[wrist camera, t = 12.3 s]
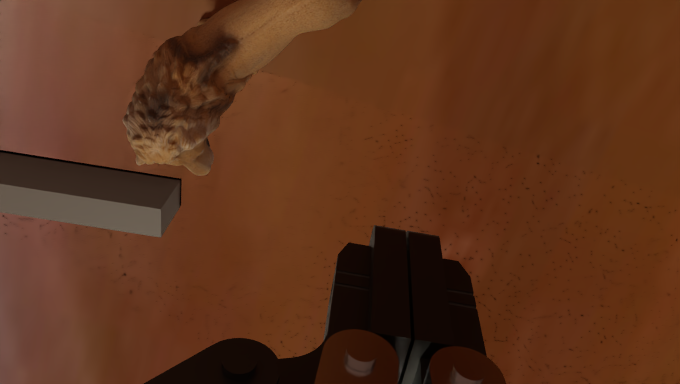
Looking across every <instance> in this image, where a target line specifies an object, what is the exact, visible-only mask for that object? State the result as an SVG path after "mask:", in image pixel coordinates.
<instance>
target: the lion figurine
mask: <svg viewBox="0 0 680 384" xmlns="http://www.w3.org/2000/svg"><path fill="white" fill-rule="evenodd" d="M360 2H361V0H238V1H236V2H234V3H232V4H230V5H228V6H226V7H224V8H222V9H221V10H219V11H218V12H217V13H215V14H214V15H213V16H212V17H210V18H205V19H202V20H200V21H199V22H198V26H197V27H193V28H191V29H189V30H188V31H187V32H185V33H184V34H183V35H182V36H176V37H173V38H170V39H168V40H166V41H165V43H163V44H162V45H161V46H160V47H159V49H158V50H157V51H155V53H154V58H152V59H150V60H149V62H148V64H147V65H146V69H145V73H144V75H143V76H142V78H141V79H140V80H139V81H138V82H137V83H136V87H135V90H136V92H135V93H134V94H133V97H132V102H130V103H129V105H128V108H127V113H126V115H125V116H124V117H123V123H124V125H125V126H126V127H127V138H128V140H129V141H130V143H131V147H132V148H133V149H134V151H135V153H136V163H137V165H142V164H144V163H146V164H153V163H155V162H156V163H158V164H164V163H165V164H171V165H175V166H179V165H184V166H185V167H186V168H188V169H189V170H190V171H191V172H192V173H193V174H195V175H206V174H208V173H209V171H210V169H211V164H212V163H213V159H214V155H213V152H212V150H211V149H210V145H209V141H208V139H207V136H208V135H209V134H210V133H211V132H213V131H214V130H215V129H217V128H218V126H219V124H220V116H221V115H222V114H223V113H224V112H225V111H226V110H227V109H228V108H229V106H230V105H231V104H232V103H233V100H234V97H235V94H236V93H237V92H239V91H240V90H242V89H243V88H244V86H245V85H246V82H247V81H248V80H249V79H250V78H251V77H252V74H257V73H258V70H259V69H260V68H262V67H264V66H265V65H267V64H268V63H269V62H270V61H272V60H273V59H274V58H275V57H276V56H277V55H278V54H279V53H280V52H281V51H282V50H283V49H284V48H285V47H286V46H287V45H288V44H289V43H290V42H291V41H292V40H293V39H294V38H295V36H297V35H299V34H301V33H304V32H310V31H315V30H322V29H327V28H329V27H331V26H333V25H334V24H336V23H337V22H338V21H340V20H341V19H344V18H347V17H349V16H350V15H351V14H352V13H353V12H354V11H355V10H356V8H357V6H358V4H359V3H360Z"/></svg>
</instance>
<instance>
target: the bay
mask: <svg viewBox="0 0 680 384" xmlns="http://www.w3.org/2000/svg"><path fill="white" fill-rule="evenodd" d="M180 206H181V179H179V178H173V177H167V176H161V175H154V174H148V173H142V172H136V171H129V170H123V169H117V168H110V167H104V166H98V165H92V164H85V163H79V162H73V161H66V160H60V159H54V158H48V157H41V156H35V155H29V154H22V153H16V152H10V151H4V150H0V212H2V213H9V214H15V215H21V216H28V217H34V218H41V219H47V220H53V221H60V222H66V223H72V224H79V225H85V226H92V227H98V228H104V229H111V230H117V231H123V232H130V233H136V234H142V235H149V236H155V237H162V235H163V233H164V232H165V230H166V228H167V227H168V225H169V224H170V222H171V220H172V219H173V217H174V216H175V214H176V212H177V211H178V209H179V208H180Z"/></svg>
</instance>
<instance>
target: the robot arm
mask: <svg viewBox="0 0 680 384" xmlns="http://www.w3.org/2000/svg"><path fill="white" fill-rule="evenodd" d="M144 384H506V381H505V378H504V376H503V374H502V372H501V370H500V369H499V368H498V366H497V365H496V364H495V363H494V362H493V361H492V360H490V359H489V358H488V357H487V356H486V351H485V346H484V341H483V336H482V332H481V327H480V322H479V317H478V312H477V309H476V302H475V297H474V296H473V288H472V283H471V278H470V276H469V275H468V273H467V272H466V271H465V269H464V268H463V267H462V265H461V264H460V263H459V261H454V260H448V259H442V252H441V245H440V238H439V236H435V235H429V234H423V233H418V232H412V231H407V232H406V231H405V230H399V229H394V228H388V227H382V226H376V225H374V227H373V231H372V235H371V240H370V244H369V246H365V245H360V244H354V243H348V244H347V245H346V246H345V247H344V249H343V250H342V251H341V252H340V253H339V254H338V257H337V263H336V268H335V274H334V279H333V284H332V290H331V295H330V300H329V306H328V313H327V320H326V327H325V334H324V342H323V343H322V344H321V345H320V346H319V347H318V348H317V349H315V350H314V351H312V352H310V353H308V354H306V355H303V356H299V357H293V358H284V359H278V358H277V357H276V355H275V354H274V352H273V351H272V350H271V349H270V348H268V347H267V346H266V345H264V344H262V343H260V342H257V341H255V340H251V339H245V338H232V339H226V340H223V341H220V342H218V343H216V344H213V345H212V346H210V347H208V348H206V349H205V350H203V351H201V352H199V353H197V354H196V355H194V356H192V357H190V358H188V359H187V360H185V361H183V362H181V363H180V364H178V365H176V366H174V367H172V368H171V369H169V370H167V371H165V372H164V373H162V374H160V375H158V376H156V377H155V378H153V379H151V380H149V381H148V382H146V383H144Z"/></svg>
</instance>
